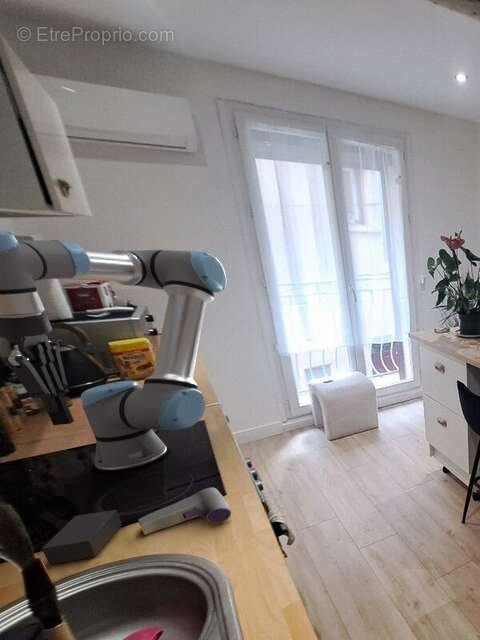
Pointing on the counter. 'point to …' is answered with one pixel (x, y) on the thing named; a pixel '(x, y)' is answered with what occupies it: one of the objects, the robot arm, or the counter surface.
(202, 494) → the infrared thermometer
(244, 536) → the counter surface
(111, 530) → the block
